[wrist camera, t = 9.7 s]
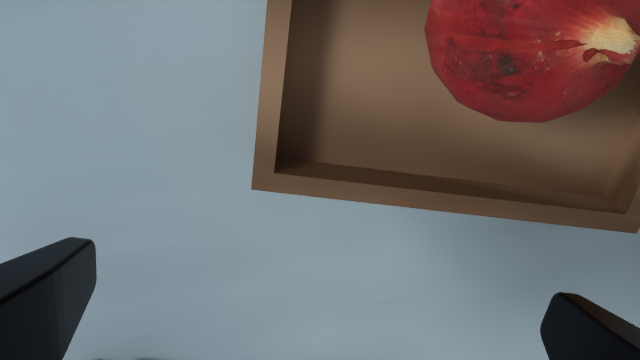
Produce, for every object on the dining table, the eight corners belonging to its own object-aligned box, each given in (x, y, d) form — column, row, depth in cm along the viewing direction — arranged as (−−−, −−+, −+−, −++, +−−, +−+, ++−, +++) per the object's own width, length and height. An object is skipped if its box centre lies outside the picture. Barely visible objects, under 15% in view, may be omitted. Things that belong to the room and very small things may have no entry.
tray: (601, 205, 21) (636, 233, 19) (258, 165, 20) (251, 189, 18) (772, -190, 15) (852, -219, 13) (297, -280, 14) (295, -329, 12)
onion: (424, 111, 19) (499, 198, 11) (388, -40, 16) (454, -53, 9) (569, 64, 18) (750, 126, 11) (553, -99, 16) (768, -163, 8)
